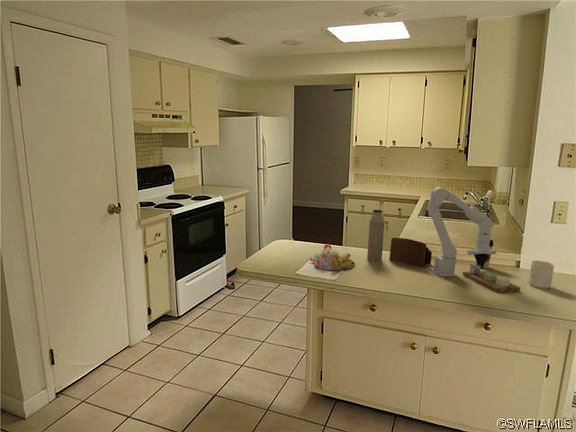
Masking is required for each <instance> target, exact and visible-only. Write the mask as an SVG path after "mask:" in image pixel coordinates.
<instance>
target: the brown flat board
mask: <svg viewBox="0 0 576 432" xmlns="http://www.w3.org/2000/svg"><path fill="white" fill-rule="evenodd" d="M485 273H488V272H487V271H485V270H480V274H473V273H471V272H470V271H463V272H462V276H463V275H464V276H466V277H468V278H470V279H471V281H472V280H473V282H474V281H475V283H476V282H477V283H476V284H479V285H480V284H481V285H480V286H482V287H484V288H486V289H488V290H490V291H492V292H494V293H496V294H497V293H498V294H499V293H520V292H521V287H520V286H518V285H516V284H513V283H512V282H510V286H509V287H501V286H499V285H497V284H495V283H496V281H488V280H486V279H484V274H485ZM464 276H463V277H464ZM466 277H465V278H466ZM468 278H467V279H468ZM470 279H469V280H470Z"/></svg>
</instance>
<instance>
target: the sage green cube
mask: <svg viewBox="0 0 576 432" xmlns="http://www.w3.org/2000/svg"><path fill="white" fill-rule="evenodd" d="M496 277H498V275H496V274H494V273H491V272H490V273H489V272H487V273H485V274H484V279H486V280H488V281H496Z"/></svg>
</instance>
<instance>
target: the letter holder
mask: <svg viewBox="0 0 576 432" xmlns="http://www.w3.org/2000/svg"><path fill="white" fill-rule="evenodd" d="M389 260H391V261H390V262H393V261H395V262H394V263H398V262H399V263H398V264H402V263H403V265H407V266H411V265H412V267H415V266H416V267H415V268H420V267H421V268H420V269H425V268H427V267H429V266H431V265H432V250H430V248H429V247H427V244H426V243H424V242H423V241H418V240H415V239H410V238H405V237H392V238H391V240H390V251H389ZM389 260H388V261H389ZM430 264H431V265H430ZM428 265H429V266H428ZM426 266H427V267H426Z"/></svg>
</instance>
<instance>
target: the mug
mask: <svg viewBox="0 0 576 432" xmlns="http://www.w3.org/2000/svg"><path fill="white" fill-rule="evenodd" d="M554 268H555V264H553V263H551V262H548V261H543V260H532V261H531V264H530V270H529V278H528V279H529V280H528V283H529V285H530V286H531V287H533V288H536V289H542V290H548V289H549V288H551V287H552V283H553V276H554Z"/></svg>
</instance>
